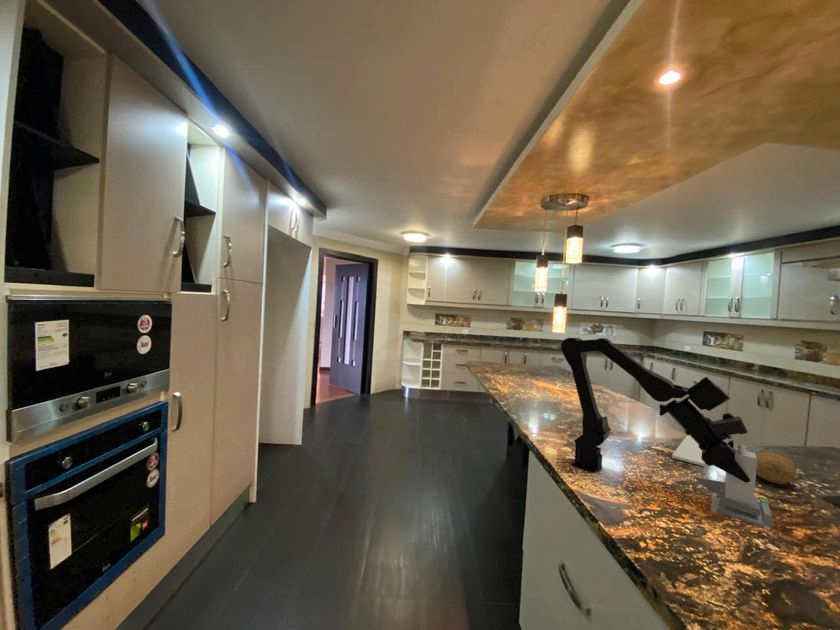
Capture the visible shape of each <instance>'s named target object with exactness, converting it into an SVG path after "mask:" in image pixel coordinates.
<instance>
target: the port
mask: <svg viewBox="0 0 840 630" xmlns="http://www.w3.org/2000/svg"><path fill="white" fill-rule="evenodd" d="M710 507H711V508H710V509H711V510H710V511H711V512H712V513H716V514H719V515H723V516H725V517H728V518H732V519H736V520H739V521H742V522H745V523H747V524H750V526H751V525H752V526H755V527H758V528H761V529H765V530H768V531H771V530H772V523H773V515H772V511H771V510H770V509H771V508H770V506H769V501H768V500H767V499H764V498H761V497H760V498H759V507H760V516H757V515H754V514H751V513H747V512H744V511H741V510H737V509H734V508H730V507H727V506H724V505H720V504H719V493H716V495H715V494H713V493H712V494H711V505H710Z"/></svg>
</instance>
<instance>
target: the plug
mask: <svg viewBox="0 0 840 630" xmlns="http://www.w3.org/2000/svg"><path fill="white" fill-rule="evenodd" d="M732 449H735V459H736V461H737V462H738V464H739V465H740V466H741V468H742V469H743V470H744V472H745V473H746V475H747V476H748V477H749V479H750V482H747V483H745V482H744V481H742V480H740V479H738V478H736V477H734V476H733V475H731V474H729V473H727V472H725V480H724V482H725V490H724V489H720V488H719V493H718V494H719V504H720V505H724V506H727V507H730V508H734V509H737V510H741V511H744V512H747V513H751V514H754V515H757V516H760V507H759V505H760V502H759V500H758V498H756V497H755V494H756V478H757V474H756V464H757V458H756V455H757V454H756V453H755V452H751V451H747V450H746V446H745V445H743V444H738V447H737V448H732Z"/></svg>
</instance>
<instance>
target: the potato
mask: <svg viewBox="0 0 840 630" xmlns="http://www.w3.org/2000/svg"><path fill="white" fill-rule="evenodd" d="M755 455H756V458H757V464H756V476H758V477H760V478H762V479H764V480H765V481H767V482H769V483H773V484H777V485H784V484H789V483H792V482H793V481H794V479H795V477H796V476H797V468H796V466H795V465H794V463H793V462H792V461H790V460H789V459H788V458H786V457H784V456H782V455H780V454H779V453H776V452H771V451H761V452H758V453H757V454H755Z"/></svg>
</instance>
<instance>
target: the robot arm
mask: <svg viewBox="0 0 840 630" xmlns="http://www.w3.org/2000/svg"><path fill="white" fill-rule="evenodd" d="M560 349H561V352H562V355H563V356H564V358H565V360H566V362H567V363H568V365H569V367H570V368H571V372H572V376H573V381H574V384H575V388H576V391H577V395H578V398H579V403H580V404H579V405H580V407H581V411H582V424H581V425H582V426H581V427H582V428H581V429H582V433H581V435H580V436H578V437H576V438H575V439H574V441H573V442H574V444H575V446H574V447H575V450H574V451H575V452H574V461H573V462H571V465H572V466H573V467H577V468H580V469H582V470H584V471H587V472H590V473H595V472H597V471H599V470H601V469H603V465H602V464H603V454H602V448H600V447H598V446H601V445H602V444H604V443H605V441H606V440H607V439H608V438H609V436H610V431H611V430H612V429H611V427H610V425H609V419H608V416H606V415H605V416H602V414H601V413H600V411H599V410H598V406H597V401H596V397H595V393H594V390H593V386H592V382H591V379H590V375H589V371H588V368H587V359H588V354H587V353H589V352H590V353H591V352H600V353H602V354H603V355H604V356H606V357H607V359H609V360H610V361H612V362H613V363H614V364H616V365H617V366H619V367H620V368H621V369H622V370H624V371H625V372H626V373H627V374H629V375H630V376H631V377H632V378H634V379H635V381H637V383H639V385H640V387H641V388H642V389H643V390H644V391H645V392H646V393H647V394H648V395H649V396H650V398H651V399H653V400H654V401H657V402H661V403H660V404H659V405H658V406H659V414H658V415H659V416H661V417H662V416H664V415H666V414H669V415H670V416H671V417H672V418H673V419H674V420H675V422H677V424H678V425H679V426H681V428H683V430H684V433H685V434H686V436H687V435H690V436H691V437H692V438H693V439H694V440H695V441H696V442H697V443H698V445H699V446H698V447H699V448H700V449H701V450H702V458H701V459H702V460H703V461H704V462H705V463H706V464H705V465H706V466H707V467H711V466H714V467H716V468H718V469H720V470H722V471H723V472H725V473H726V472H727V473H729V474H731V475H733V476H734V477H736V478H738V479H740V480H742V481H744V482H745V483H747V482H750V479H749V477H748V476H747V475H746V473H745V472H744V470H743V469H742V468H741V466H740V465H739V464H738V462H737V461H736V459H735V449H736V448H734V445H735V444H734V440H731V439H732V435H738V434H739V435H745V434H748V429H747V427H746V425H745V423H744V422H743V420H742V417H741V416H738V415H736V416H734V415H733V414H732V413H730V412H728V413H727V412H726V413H722V417H721V419H718V420H712V419H711V418H710V417H707V416H705V415H703V414H702V413H701V411H702V410H706V411H708V412H711V411H712V410H714V409H715V408H717V407H719V406H721V405H723V404H724V403H726V402H727V401H729V400H731V397H730V396H729V395H728V394H727V393H726V392H725V391H724V390H723V389H722V388H721V387H720V386H719V385H717V384H716V383H714V381H712V380H711V379H710V378H709V377H707V376H705V377H703V378H702V379H700V380H699V381H698V382H696V383H695V384H694V385H692V386H690V387H685V386H681V385H678V384H674V382H673V381H672V380H670V379H668V378H666V377H664V376H662V375H661V374H659V373H657V372H655V371H652V370H650V369H648V368H646V367H645V366H644V365H642V364H641V363H640V362H638V361H637V360H636V359H634V358H633V357H631V356H630V355H629V354H628V353H626V352H625V351H624V350H622V349H621V348H620V347H618V346H617V345H615V344H614V343H613V342H612V341H611V340H610V339H609V338H606V337H601V338H600V337H599V338H597V339H596V338H595V339H584V340H583V339H582V338H580V337H567V338H565V339H564V340H563V341H562V342H561V343H560ZM684 397H685V398H684ZM672 399H673V400H672ZM677 399H681V400H679V401H678V400H677ZM668 401H669V402H668ZM690 401H691V402H692V403H693V404H692V403H691V402H690ZM665 402H668V403H666V404H662V403H665ZM694 405H695V406H696V407H695V406H694ZM698 409H699V410H701V411H699V410H698ZM727 439H728V440H729V441H728V442H727V441H726V440H727ZM732 448H733V449H732Z"/></svg>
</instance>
